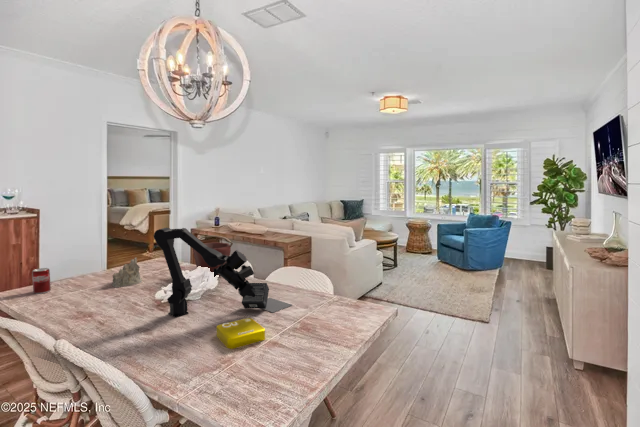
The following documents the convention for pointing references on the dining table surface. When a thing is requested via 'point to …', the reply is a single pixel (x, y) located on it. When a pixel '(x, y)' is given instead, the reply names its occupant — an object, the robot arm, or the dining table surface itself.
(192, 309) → the dining table surface
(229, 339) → the element tile
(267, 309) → the dark rubber mat
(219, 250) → the bucket
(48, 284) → the soda can
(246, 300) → the small box
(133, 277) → the jagged grey rock
